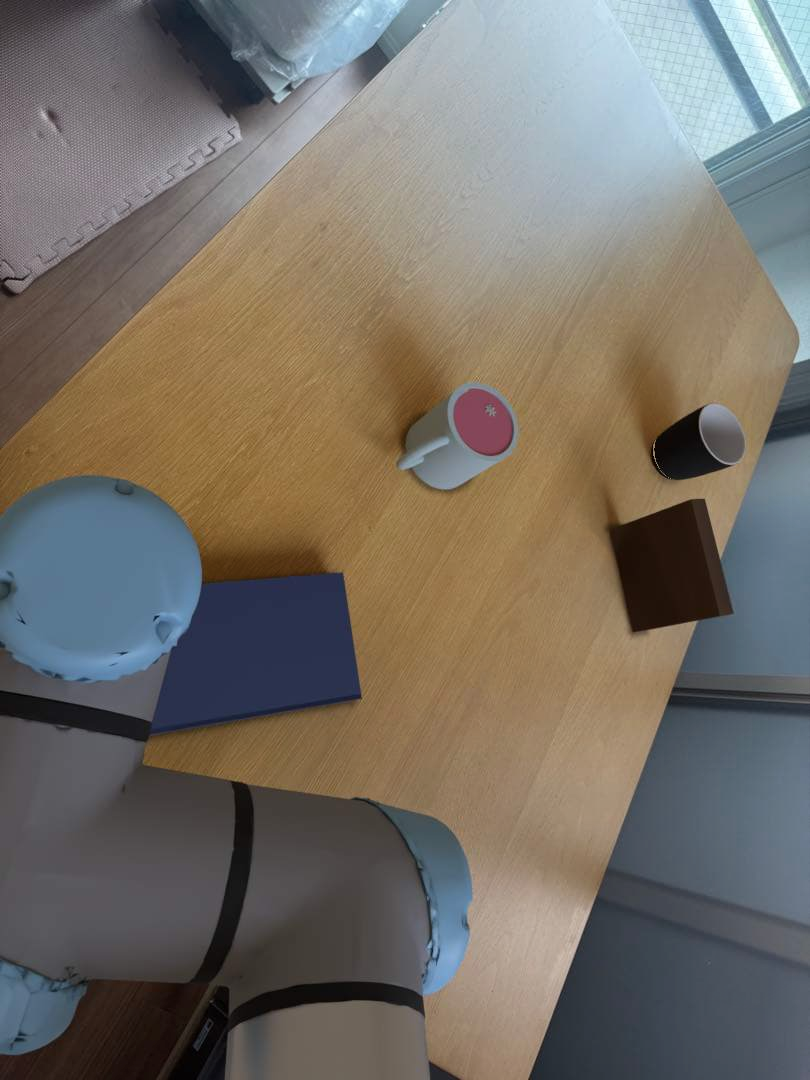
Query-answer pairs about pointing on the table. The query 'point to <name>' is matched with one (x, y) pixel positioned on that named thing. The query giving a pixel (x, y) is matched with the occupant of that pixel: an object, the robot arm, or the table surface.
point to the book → (260, 652)
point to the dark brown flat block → (671, 567)
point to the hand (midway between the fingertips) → (57, 666)
